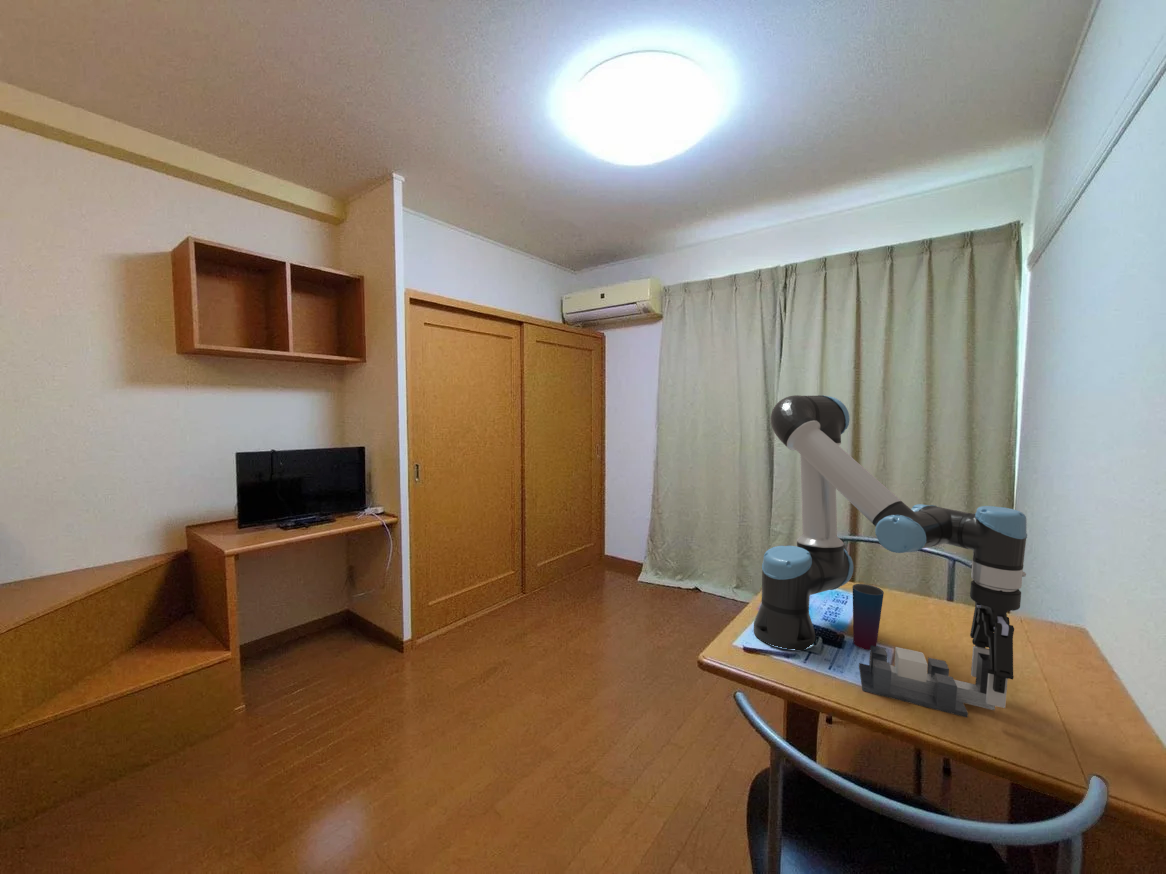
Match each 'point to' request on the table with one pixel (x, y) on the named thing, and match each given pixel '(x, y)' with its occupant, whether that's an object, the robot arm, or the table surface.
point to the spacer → (910, 664)
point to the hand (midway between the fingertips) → (987, 690)
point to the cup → (866, 614)
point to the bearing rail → (879, 683)
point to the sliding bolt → (965, 691)
